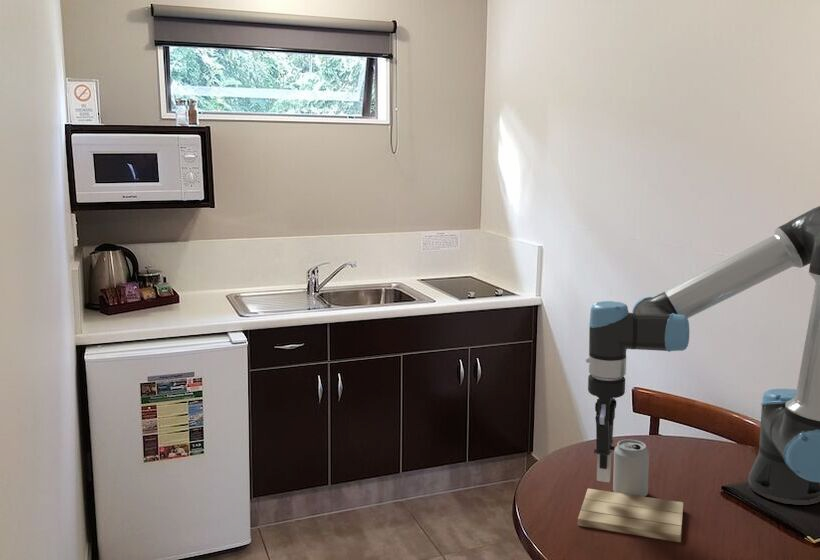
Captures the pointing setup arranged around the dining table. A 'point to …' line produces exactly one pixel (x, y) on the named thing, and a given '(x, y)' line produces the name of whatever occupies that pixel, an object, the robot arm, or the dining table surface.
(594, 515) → the laid board
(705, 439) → the dining table surface
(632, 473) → the can
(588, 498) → the plank
